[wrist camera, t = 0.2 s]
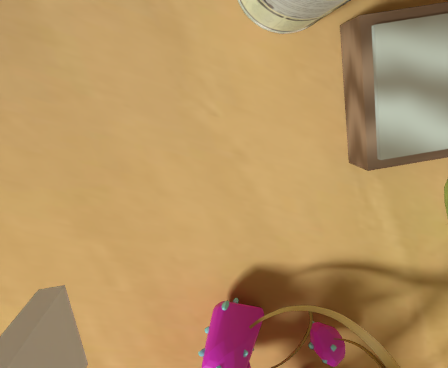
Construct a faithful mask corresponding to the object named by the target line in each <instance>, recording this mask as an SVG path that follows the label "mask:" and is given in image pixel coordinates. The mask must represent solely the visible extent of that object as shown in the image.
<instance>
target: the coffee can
mask: <svg viewBox="0 0 448 368" xmlns="http://www.w3.org/2000/svg"><path fill="white" fill-rule="evenodd" d="M349 1H350V0H238V2H239V4H240V6H241V8H242V9H243V11H244V13H245V14H246V15H247V16H248V17H249V18H250V19H251V20H252V21H253V22H254V23H255V24H257V25H258V26H260V27H261V28H263V29H266V30H268V31H271V32H275V33H280V34H285V33H294V32H299V31H302V30H304V29H306V28H308V27H310V26H311V25H313V24H314V23H316V22H317V21H318V20H320V19H321V18H323V17H324V16H326V15H328V14H329V13H331V12H333V11H334V10H336V9H337V8H339V7H341V6H342V5H344V4H346V3H347V2H349Z"/></svg>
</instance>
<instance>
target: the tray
mask: <svg viewBox="0 0 448 368" xmlns="http://www.w3.org/2000/svg"><path fill="white" fill-rule="evenodd" d="M340 32H341V48H342V63H343V78H344V94H345V109H346V124H347V140H348V155H349V163H351V164H354V165H356V166H358V167H360V168H363V169H365V170H367V171H369V170H375V169H381V168H387V167H393V166H399V165H405V164H411V163H417V162H422V161H428V160H434V159H440V158H446V157H448V2H444V3H437V4H431V5H424V6H418V7H411V8H405V9H398V10H392V11H385V12H379V13H372V14H366V15H360V16H358V17H356V18H354V19H352V20H350V21H348V22H346V23H343V24H341V25H340Z"/></svg>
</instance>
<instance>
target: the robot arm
mask: <svg viewBox="0 0 448 368" xmlns="http://www.w3.org/2000/svg"><path fill="white" fill-rule="evenodd" d="M87 365H88V362H87V359H86V355H85V352H84V349H83V345H82V342H81V338H80V335H79V332H78V328H77V325H76V322H75V318H74V315H73V311H72V308H71V305H70V301H69V298H68V294H67V291H66V288H65V285H63V286H57V287H51V288H45V289H39V290H38V291H37V292H36V293H35V294H34V296H33V297H32V298H31V299H30V301H29V302H28V303H27V304H26V305H25V307H24V308H23V309H22V310H21V312H20V313H19V314H18V315H17V316H16V318H15V319H14V320H13V321H12V323H11V324H10V325H9V326H8V327H7V329H6V330H5V331H4V332H3V334H2V335H1V336H0V368H86V367H87Z"/></svg>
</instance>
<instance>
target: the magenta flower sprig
mask: <svg viewBox="0 0 448 368" xmlns="http://www.w3.org/2000/svg"><path fill="white" fill-rule="evenodd" d="M444 197H445V206H446V212H447V217H448V179H447V182H446V185H445V187H444ZM238 302H239V300H238V298H235V299H234V301H233V302H229V301H223V302H221V303H219V304H217V305H216V306H215V308H214V309H213V314H212V318H211V323H210V327H209V326H208V327H207V328H205V332H206V333H208V336H207V341H206V345H205V348H204V349H202V350H201V351H200V352H199V353H198V354H199V356H203V363H202V368H251V367H250V363H249V360H250V357H251V354H252V351H254V345H255V342H256V339H257V336H258V333H259V330H260V327H261V324H262V321H263V320H265V319H267V318H269V317H272V316H274V315H277V314H280V313H283V312H289V311H309V315H310V322H309V327H308V329H307V332H306V334H305V336H304V338H303V340H302V342H301V343H300V345H299V346H298V347H297V348H296V350H295V351H294V352H293V353H292V354H291V355H290V356H289V357H288V358H286V359H285V360H284V361H282V362H281V363H279V364H278V365H276V366H274V367H271V368H276V367H278V366H280V365H282V364H283V363H285V362H286V361H287V360H289V359H290V358H291V357H292V356H293V355H294V354H295V353H296V352H297V351H298V350H299V349H300V348H301V346H302V345H303V344H304V342H305V340H306V339H307V337H308V335H309V333H310V341H311V342H310V343H309V345H308V346H309V348H310V349H314V351H315V352H316V353H317V355H318V356H319V357H320V358H321V359H322V362H323V363H326V364H328V365H330V366H332V367H335V366H337V365H338V364H339V363H340V362H341V361H342V359H343V358H344V356H345V343H344V341H346V342H349V343H352V344H354V345H356V346H358V347H360V348H361V349H363V350H364V351H365V352H366V353H367V354H368V355H369V356H370V357H371V358H373V359H374V361H375V362H376V363H377V364H378V365H379V366H380V367H381V368H400V366H399V365H398V364H397V363H396V361H395V360H394V359H393V358H392V357H391V355H390V354H389V353H388V352H387V350H386V349H385V348H384V347H383V346H382V345H381V344H380V343H379V342H378V341H377V340H376V339H375V338H374V337H373V336H371V335H370V334H369V333H368V332H367V331H366V330H364V329H363V328H362V327H360V326H359V325H358V324H356V323H355V322H353V321H352V320H350V319H349V318H347V317H345V316H344V315H342V314H340V313H337V312H335V311H332V310H329V309H326V308H322V307H317V306H310V305H300V306H290V307H285V308H281V309H278V310H276V311H273V312H271V313H269V314H267V315H265V316H264V312H263V309H262V308H261V307H255V306H250V305H244V304H238ZM312 312H316V313H320V314H323V315H326V316H329V317H331V318H333V319H335V320H337V321H339V322H341V323H342V324H344V325H345V326H347V327H348V328H349V329H351V330H352V331H353V332H354V333H356V334H357V335H358V336H359V337H360V338H361V339H362V340H363V341H364V342H365V343H366V344H367V345H368V346H369V347H370V348H371V349H372V350H373V351H374V352H375V353H376V354H377V356H378V357H379V358H380V360H381V361H382V362H381V361H380V360H379V359H378V358H377V357H375V356H374V355H373V354H372V353H371V352H370V351H368V350H367V349H366V348H365V347H363V346H361V345H360V344H358V343H355V342H353V341H350V340H346V339H342V337H341V336H340V334H339V332H338V331H337V330H336V329H335V328H334V327H331V326H329V325H326V324H323V323H320V322H316V323H315V322H314V321H313V314H312ZM382 363H383V364H384V365H385V366H384V365H383V364H382Z"/></svg>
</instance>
